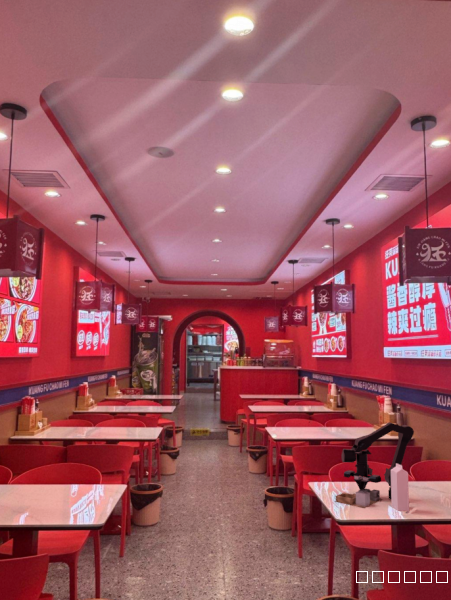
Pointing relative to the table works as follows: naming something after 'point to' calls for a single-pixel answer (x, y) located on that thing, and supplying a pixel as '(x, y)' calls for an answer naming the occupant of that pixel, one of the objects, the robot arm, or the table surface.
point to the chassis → (351, 498)
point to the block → (363, 498)
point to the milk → (399, 489)
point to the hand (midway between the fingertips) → (362, 493)
